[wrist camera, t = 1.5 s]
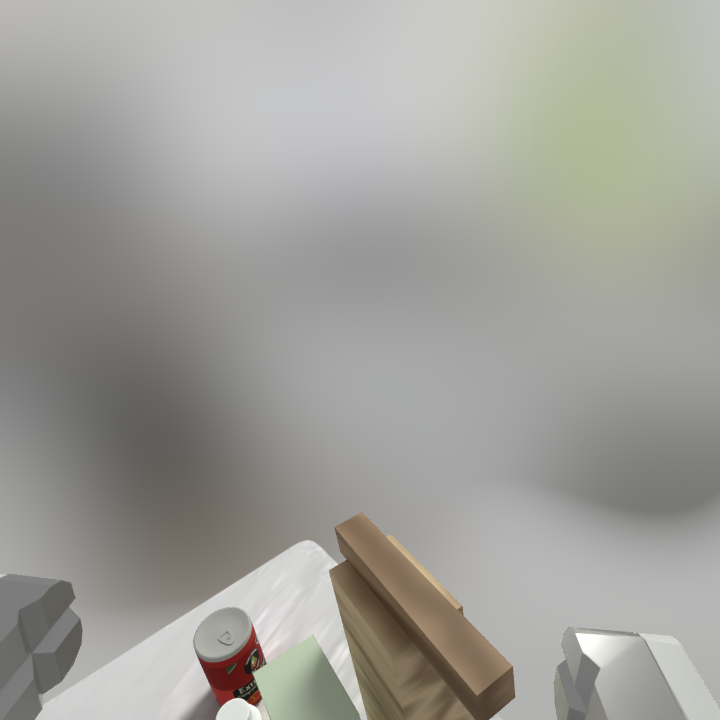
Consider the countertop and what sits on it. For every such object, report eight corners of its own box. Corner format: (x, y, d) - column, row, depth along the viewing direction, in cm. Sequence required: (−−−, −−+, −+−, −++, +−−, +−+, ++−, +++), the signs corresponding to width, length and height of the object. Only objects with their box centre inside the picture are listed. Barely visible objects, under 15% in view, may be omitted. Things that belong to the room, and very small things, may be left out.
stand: (427, 822, 51) (391, 656, 41) (368, 723, 61) (328, 570, 51) (483, 770, 55) (462, 605, 45) (419, 684, 65) (390, 534, 55)
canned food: (249, 722, 64) (226, 667, 60) (204, 701, 67) (179, 648, 63) (281, 668, 70) (262, 615, 66) (238, 652, 74) (218, 600, 69)
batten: (480, 726, 35) (477, 695, 34) (340, 551, 54) (334, 527, 52) (515, 697, 37) (512, 666, 35) (367, 536, 55) (361, 512, 54)
